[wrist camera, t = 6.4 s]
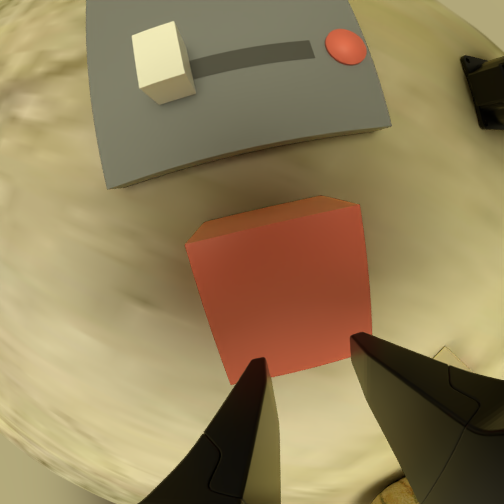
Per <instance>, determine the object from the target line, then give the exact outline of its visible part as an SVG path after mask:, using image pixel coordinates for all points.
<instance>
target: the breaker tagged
mask: <svg viewBox="0 0 504 504" xmlns="http://www.w3.org/2000/svg"><path fill="white" fill-rule="evenodd" d="M132 42H133V50H134V57H135V64H136V71H137V77H138V83H139V89H141V90H142V91H143V92H144V93H145V94H147V95H148V96H149V97H150V98H151V99H153V100H154V101H155V102H156V103H157V104H159V105H161V104H164V103H167V102H170V101H173V100H177V99H180V98H183V97H187V96H190V95H194V94H196V90H195V85H194V81H193V76H192V72H191V67H190V63H189V58H188V54H187V49H186V46H185V44H184V42H183V39H182V37H181V35H180V33H179V31H178V28H177V26H176V24H175V22H174V21H172V22H169V23H166V24H163V25H160V26H157V27H154V28H151V29H148V30H145V31H143V32H140V33H137V34H135V35H132Z"/></svg>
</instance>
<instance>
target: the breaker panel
mask: <svg viewBox="0 0 504 504" xmlns="http://www.w3.org/2000/svg"><path fill="white" fill-rule="evenodd" d="M172 21H174V22H175V24H176V26H177V28H178V31H179V33H180V35H181V37H182V39H183V42H184V44H185V46H186V49H187V54H188V58H189V63H190V67H191V72H192V76H193V81H194V85H195V90H196V94H194V95H190V96H187V97H183V98H180V99H177V100H173V101H170V102H167V103H164V104H161V105H159V104H157V103H156V102H155V101H154V100H153V99H151V98H150V97H149V96H148V95H147V94H145V93H144V92H143V91H142V90H141V89H139V83H138V77H137V71H136V64H135V57H134V50H133V42H132V35H135V34H137V33H140V32H143V31H145V30H148V29H151V28H154V27H157V26H160V25H163V24H166V23H169V22H172ZM86 46H87V64H88V76H89V87H90V96H91V104H92V111H93V118H94V125H95V131H96V137H97V143H98V148H99V154H100V159H101V164H102V169H103V173H104V178H105V182H106V187H107V189H116V188H125V187H128V186H131V185H133V184H136V183H139V182H143V181H146V180H149V179H152V178H155V177H158V176H161V175H165V174H168V173H171V172H175V171H178V170H182V169H185V168H189V167H192V166H196V165H200V164H203V163H207V162H211V161H215V160H219V159H223V158H227V157H231V156H235V155H240V154H244V153H248V152H253V151H257V150H262V149H267V148H272V147H277V146H282V145H287V144H293V143H298V142H304V141H310V140H316V139H322V138H329V137H336V136H343V135H350V134H358V133H367V132H374V131H378V130H381V129H384V128H388V127H391V126H392V124H391V120H390V116H389V113H388V109H387V105H386V101H385V98H384V94H383V91H382V88H381V84H380V81H379V78H378V75H377V72H376V69H375V66H374V63H373V60H372V57H371V54H370V52H369V49H368V46H367V44H366V41H365V39H364V36H363V34H362V31H361V29H360V26H359V24H358V22H357V19H356V17H355V15H354V13H353V10H352V8H351V6H350V4H349V2H348V0H86Z"/></svg>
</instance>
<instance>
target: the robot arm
mask: <svg viewBox="0 0 504 504" xmlns="http://www.w3.org/2000/svg"><path fill="white" fill-rule="evenodd" d="M461 61H462V64H463V67H464V70H465V73H466V76H467V79H468V82H469V85H470V89H471V92H472V95H473V99H474V103H475V107H476V110H477V115H478V119H479V123H480V126H481V128H482V129H484V130H504V56H503V57H500V58H496V59H493V60H490V61H487V60H483V59H479V58H475V57H471V56H467V55H464V56H462V57H461ZM484 123H485V124H484ZM350 353H351V361H352V364H353V367H354V369H355V372H356V374H357V377H358V380H359V382H360V385H361V388H362V390H363V393H364V395H365V398H366V401H367V403H368V405H369V407H370V409H371V410H372V412H373V414H374V416H375V418H376V420H377V422H378V424H379V425H380V427H381V429H382V431H383V433H384V435H385V437H386V439H387V441H388V443H389V445H390V447H391V448H392V450H393V452H394V454H395V456H396V458H397V460H398V462H399V464H400V466H401V468H402V470H403V472H404V474H405V476H406V478H407V480H408V482H409V484H410V486H411V488H412V490H413V492H414V494H415V496H416V498H417V500H418V502H419V504H504V380H500V379H496V378H491V377H487V376H483V375H479V374H476V373H472V372H469V371H466V370H463V369H460V368H457V367H454V366H452V365H449V366H448V364H446V363H443V362H440V361H438V360H435V359H432V358H430V357H427V356H424V355H422V354H419V353H416V352H414V351H411V350H408V349H406V348H403V347H401V346H398V345H395V344H393V343H390V342H388V341H385V340H383V339H380V338H378V337H375V336H373V335H370V334H368V333H365V332H359V333H356V334H353V335H351V336H350ZM138 504H281V482H280V432H279V420H278V414H277V408H276V402H275V397H274V391H273V386H272V380H271V376H270V372H269V369H268V365H267V361H266V358H265V357H260V358H255V359H252V360H251V361H250V363H249V364H248V366H247V367H246V369H245V371H244V372H243V374H242V375H241V377H240V378H239V380H238V381H237V383H236V385H235V386H234V388H233V389H232V391H231V392H230V394H229V395H228V397H227V398H226V400H225V401H224V403H223V404H222V406H221V407H220V409H219V410H218V412H217V413H216V415H215V416H214V418H213V419H212V421H211V422H210V424H209V425H208V427H207V428H206V429H205V431H204V434H202V435H201V436H200V438H199V439H198V441H197V442H196V444H195V445H194V446H193V447H192V449H191V450H190V451H189V453H188V454H187V455H186V456H185V458H184V459H183V460H182V461H181V462H180V463H179V464H178V465H177V466H176V468H175V469H174V470H173V471H172V472H171V473H170V474H169V475H168V476H167V477H166V478H165V479H164V480H163V481H162V482H161V483H160V484H159V485H158V486H157V487H156V488H155V489H154V490H153V491H152V492H151V493H150V494H149V495H148V496H147V497H145V498H144V499H143V500H142V501H141V502H139V503H138Z"/></svg>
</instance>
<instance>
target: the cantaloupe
mask: <svg viewBox="0 0 504 504" xmlns="http://www.w3.org/2000/svg"><path fill="white" fill-rule="evenodd" d="M371 504H419V502H418V500H417V498H416V496H415V494H414V492H413V490H412V488H411V486H410V484H409V482H408V480H407V478H406V477H405V478H403V479H400V480H399V481H397V482H395V483H393V484H392V485H390V486H388V487H387V488H386V489H384V491H383V492H381V493H380V494H379V495H378V496H377V497H376V498H375V499H374V500H373V502H372V503H371Z"/></svg>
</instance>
